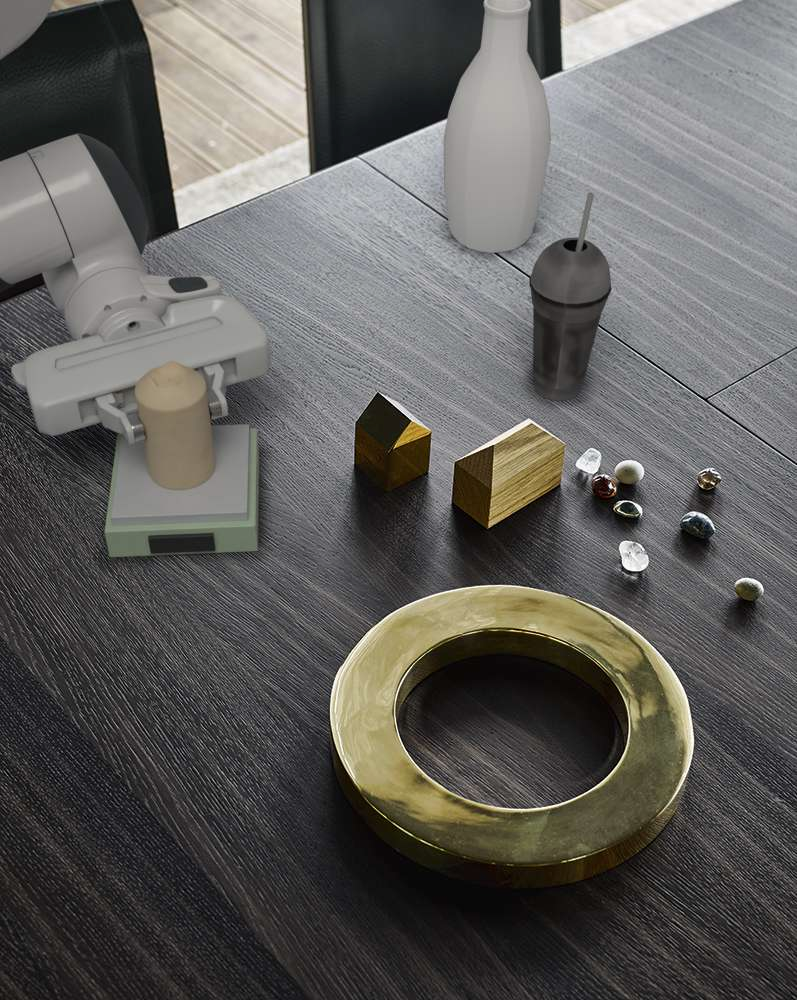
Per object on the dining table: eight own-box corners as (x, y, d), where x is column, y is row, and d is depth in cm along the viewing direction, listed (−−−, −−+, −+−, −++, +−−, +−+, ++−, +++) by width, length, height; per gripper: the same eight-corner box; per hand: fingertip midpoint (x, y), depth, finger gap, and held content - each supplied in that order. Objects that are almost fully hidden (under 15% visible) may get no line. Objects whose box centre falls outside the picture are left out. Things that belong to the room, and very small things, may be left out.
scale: (109, 560, 102) (101, 526, 99) (122, 458, 110) (115, 424, 108) (257, 554, 102) (254, 520, 100) (259, 453, 111) (256, 419, 108)
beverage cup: (502, 383, 119) (519, 195, 105) (555, 352, 122) (578, 167, 108) (558, 420, 115) (584, 231, 101) (611, 388, 118) (643, 200, 104)
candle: (140, 487, 102) (123, 392, 95) (158, 443, 106) (143, 348, 99) (207, 493, 102) (194, 398, 95) (222, 448, 106) (211, 354, 99)
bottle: (538, 206, 142) (561, -21, 124) (544, 261, 134) (570, 27, 116) (439, 204, 142) (448, -23, 124) (439, 259, 134) (449, 24, 116)
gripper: (-3, 331, 103) (42, 430, 94) (232, 270, 109) (294, 358, 100) (13, 391, 107) (57, 491, 98) (237, 329, 114) (297, 418, 105)
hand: (179, 423), depth 99 cm, fingers closed on candle, 5 cm apart
